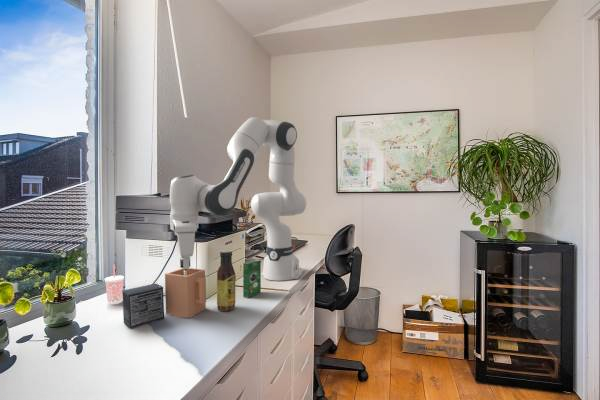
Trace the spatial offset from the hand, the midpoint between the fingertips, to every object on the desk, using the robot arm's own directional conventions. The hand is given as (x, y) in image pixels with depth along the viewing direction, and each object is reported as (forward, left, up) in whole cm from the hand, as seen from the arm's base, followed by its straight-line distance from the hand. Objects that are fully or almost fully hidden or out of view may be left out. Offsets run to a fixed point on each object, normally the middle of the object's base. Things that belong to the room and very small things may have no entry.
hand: (185, 264), depth 111 cm
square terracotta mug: (0, +2, -16) cm, 16 cm away
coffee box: (-23, +12, -16) cm, 30 cm away
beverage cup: (+3, -30, -16) cm, 34 cm away
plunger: (0, 0, -14) cm, 14 cm away
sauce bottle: (-7, +11, -16) cm, 21 cm away
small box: (+11, -7, -16) cm, 21 cm away
